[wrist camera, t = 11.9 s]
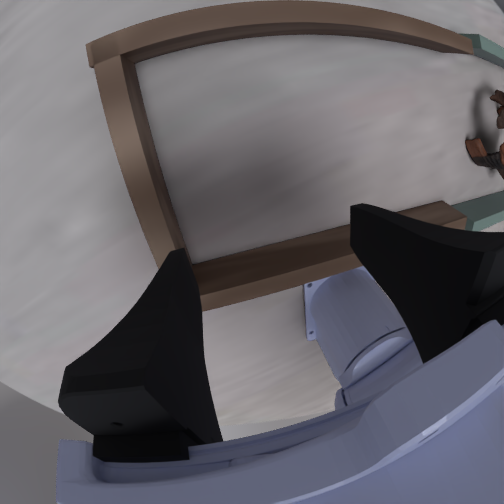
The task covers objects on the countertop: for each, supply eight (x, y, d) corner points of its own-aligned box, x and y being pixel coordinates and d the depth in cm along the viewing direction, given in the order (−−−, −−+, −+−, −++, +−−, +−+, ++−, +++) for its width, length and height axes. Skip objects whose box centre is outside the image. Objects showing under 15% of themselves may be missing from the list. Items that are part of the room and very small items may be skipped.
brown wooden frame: (440, 212, 25) (464, 229, 22) (177, 284, 23) (177, 317, 19) (440, 38, 15) (471, 39, 11) (105, 53, 12) (85, 44, 9)
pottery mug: (449, 124, 20) (512, 105, 12) (457, 89, 22) (505, 71, 14) (490, 208, 23) (544, 203, 16) (496, 162, 25) (540, 154, 17)
